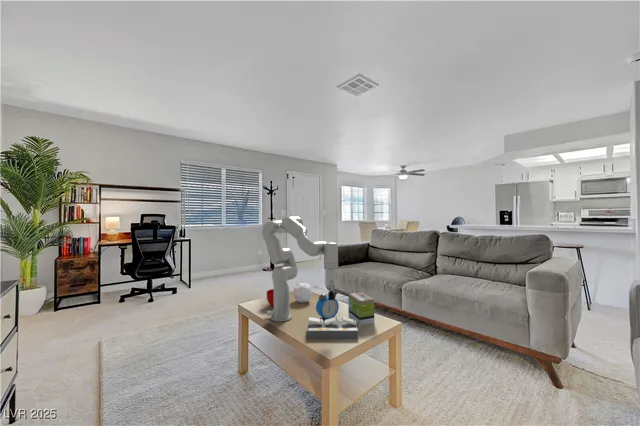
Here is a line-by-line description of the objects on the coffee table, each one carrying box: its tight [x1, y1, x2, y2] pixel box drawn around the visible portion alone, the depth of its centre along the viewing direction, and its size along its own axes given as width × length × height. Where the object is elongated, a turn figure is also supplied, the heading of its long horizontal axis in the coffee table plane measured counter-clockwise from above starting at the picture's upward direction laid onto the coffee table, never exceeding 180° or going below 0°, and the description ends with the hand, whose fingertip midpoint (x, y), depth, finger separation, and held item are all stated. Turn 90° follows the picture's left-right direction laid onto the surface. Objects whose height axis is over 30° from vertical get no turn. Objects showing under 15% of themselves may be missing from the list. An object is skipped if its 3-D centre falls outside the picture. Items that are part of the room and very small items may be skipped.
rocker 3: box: [341, 315, 357, 326], centre depth 149 cm, size 7×4×1 cm, turn 90°
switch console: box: [306, 320, 359, 340], centre depth 148 cm, size 26×13×5 cm, turn 90°
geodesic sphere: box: [292, 281, 313, 304], centre depth 200 cm, size 15×14×14 cm
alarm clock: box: [315, 293, 340, 321], centre depth 169 cm, size 13×6×15 cm, turn 121°
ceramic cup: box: [266, 288, 274, 308], centre depth 193 cm, size 13×17×10 cm
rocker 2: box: [324, 315, 340, 325], centre depth 149 cm, size 7×4×1 cm, turn 90°
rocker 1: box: [308, 316, 324, 325], centre depth 149 cm, size 7×4×1 cm, turn 90°
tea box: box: [347, 292, 375, 327], centre depth 165 cm, size 15×10×15 cm
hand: (331, 299), depth 149 cm, fingers closed
